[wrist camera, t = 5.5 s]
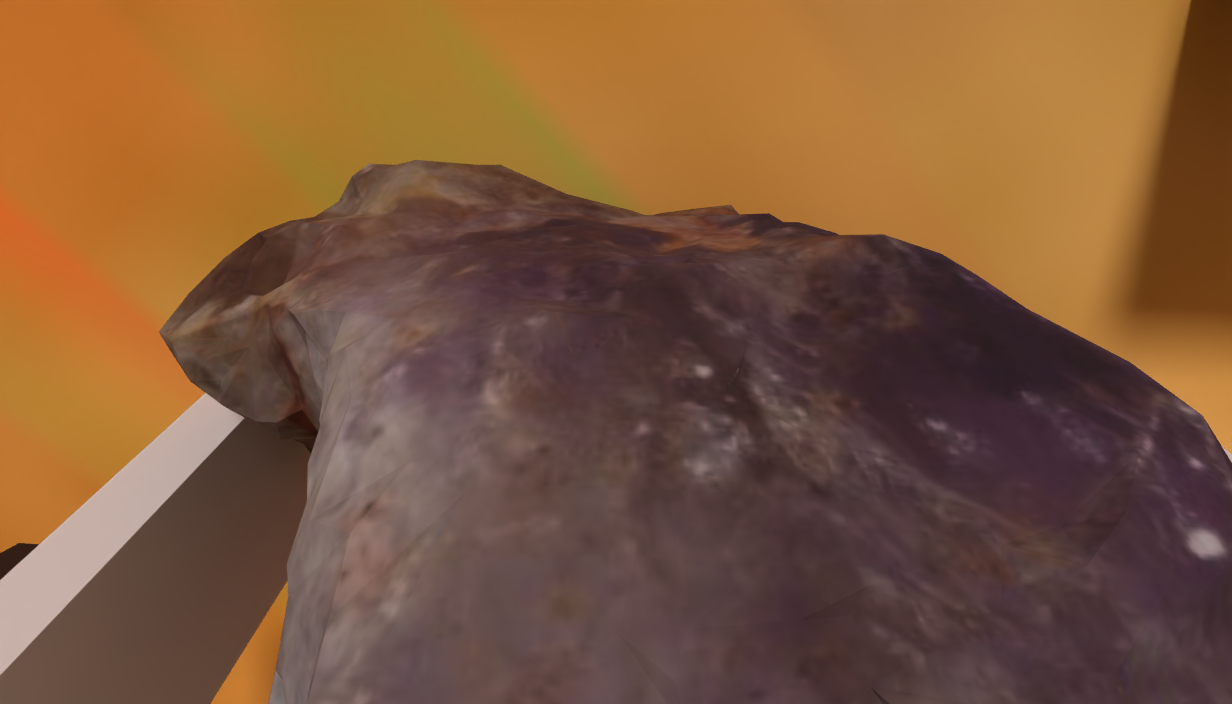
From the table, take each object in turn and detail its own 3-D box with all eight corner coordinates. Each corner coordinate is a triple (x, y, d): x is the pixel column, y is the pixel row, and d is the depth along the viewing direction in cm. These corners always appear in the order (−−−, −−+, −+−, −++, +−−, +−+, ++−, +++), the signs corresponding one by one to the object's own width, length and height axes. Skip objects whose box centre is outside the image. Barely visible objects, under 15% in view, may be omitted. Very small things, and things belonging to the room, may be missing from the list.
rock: (612, 710, 17) (1141, 537, 14) (599, 1381, 10) (1663, 1297, 7) (186, 237, 11) (916, -195, 9) (-563, 980, 4) (2286, -150, 2)
